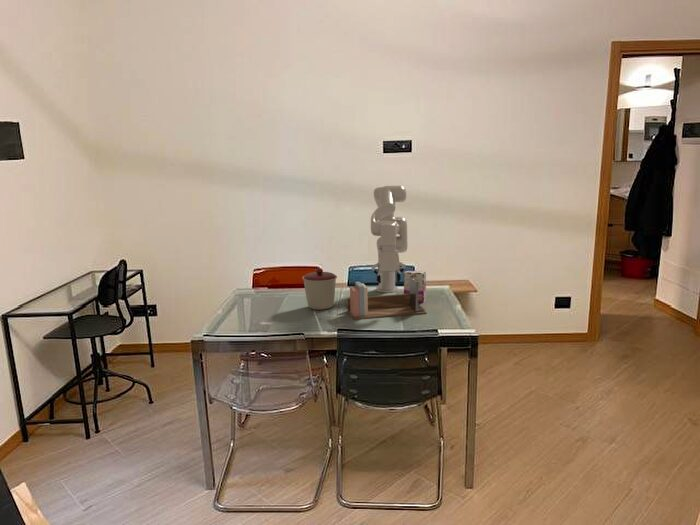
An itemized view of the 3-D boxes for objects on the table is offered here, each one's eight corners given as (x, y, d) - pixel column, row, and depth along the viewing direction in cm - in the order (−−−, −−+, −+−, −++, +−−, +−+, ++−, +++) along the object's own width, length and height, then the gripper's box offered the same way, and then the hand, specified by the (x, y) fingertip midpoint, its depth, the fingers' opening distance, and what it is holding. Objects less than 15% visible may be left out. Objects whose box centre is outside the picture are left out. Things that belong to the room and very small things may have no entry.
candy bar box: (426, 301, 287) (426, 271, 283) (423, 303, 282) (423, 273, 279) (406, 299, 291) (406, 270, 288) (403, 301, 287) (403, 272, 283)
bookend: (409, 306, 274) (409, 277, 271) (418, 305, 274) (418, 277, 272) (415, 311, 264) (415, 282, 261) (424, 310, 265) (425, 281, 262)
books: (350, 310, 269) (349, 282, 266) (363, 309, 270) (363, 281, 267) (354, 316, 259) (353, 286, 256) (368, 315, 260) (367, 285, 257)
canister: (333, 312, 269) (332, 272, 265) (299, 311, 272) (297, 271, 268) (341, 303, 286) (340, 265, 282) (308, 302, 290) (307, 264, 286)
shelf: (347, 311, 271) (347, 298, 270) (417, 305, 278) (417, 293, 277) (353, 319, 257) (353, 306, 256) (426, 313, 264) (426, 300, 262)
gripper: (373, 250, 255) (373, 285, 259) (407, 248, 258) (407, 282, 262) (369, 247, 262) (370, 281, 266) (403, 246, 266) (403, 279, 269)
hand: (388, 282), depth 264 cm, fingers open, 9 cm apart
